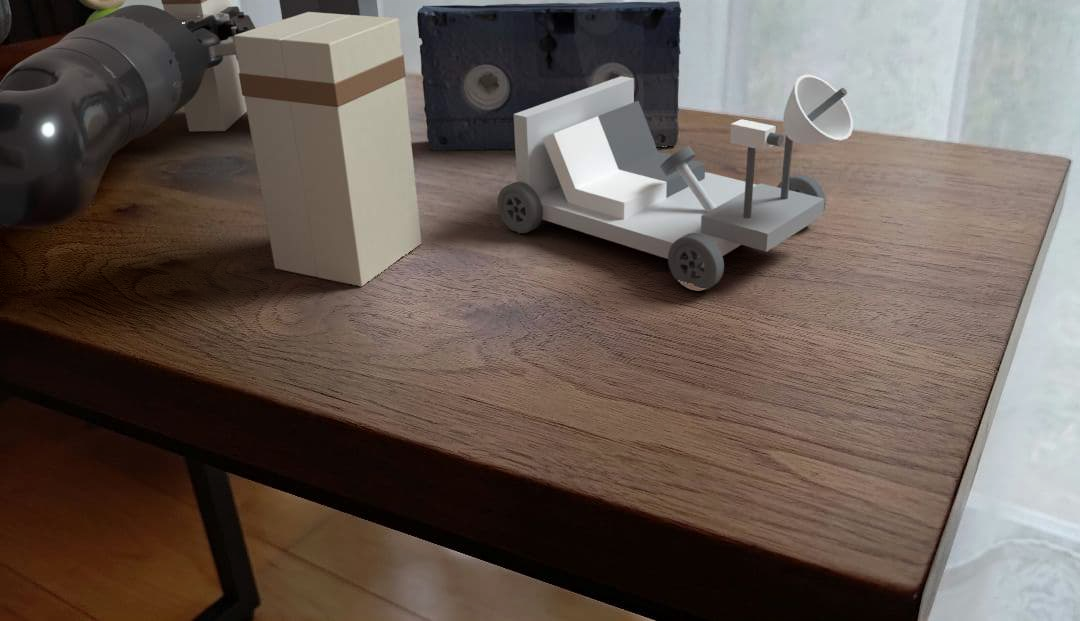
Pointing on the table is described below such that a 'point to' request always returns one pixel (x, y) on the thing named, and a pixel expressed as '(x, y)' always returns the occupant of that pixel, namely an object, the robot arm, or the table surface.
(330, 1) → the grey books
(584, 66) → the vhs cassette tape
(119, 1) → the snail figurine
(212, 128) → the cream rectangular block
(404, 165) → the cream brown-striped block
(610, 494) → the table surface
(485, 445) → the table surface
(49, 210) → the robot arm
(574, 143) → the toy car
